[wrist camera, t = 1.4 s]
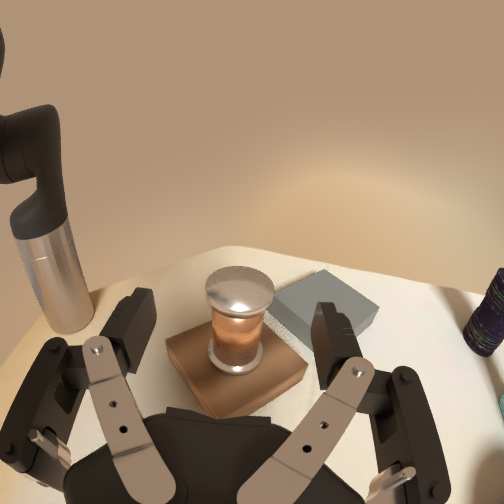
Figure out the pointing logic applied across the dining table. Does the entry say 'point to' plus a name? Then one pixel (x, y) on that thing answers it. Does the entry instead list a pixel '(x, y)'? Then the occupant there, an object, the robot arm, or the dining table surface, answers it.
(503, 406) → the data package
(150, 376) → the dining table surface
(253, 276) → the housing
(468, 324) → the dark blue cylinder
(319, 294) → the slate stand
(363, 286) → the dining table surface
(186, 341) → the walnut stand
